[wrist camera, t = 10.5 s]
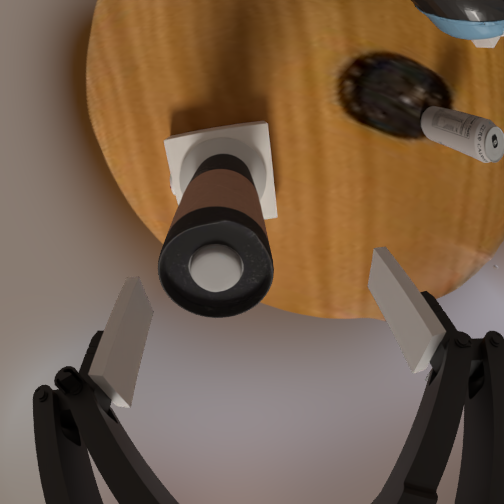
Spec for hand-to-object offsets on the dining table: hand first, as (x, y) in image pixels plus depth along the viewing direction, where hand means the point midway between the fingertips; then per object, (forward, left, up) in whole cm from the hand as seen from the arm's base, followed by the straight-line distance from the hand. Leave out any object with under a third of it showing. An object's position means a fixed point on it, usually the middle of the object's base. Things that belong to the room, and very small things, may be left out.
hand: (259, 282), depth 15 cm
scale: (+1, -3, -27) cm, 27 cm away
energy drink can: (-5, +32, -27) cm, 42 cm away
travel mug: (+1, -3, -23) cm, 23 cm away
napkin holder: (-26, +49, -28) cm, 63 cm away
